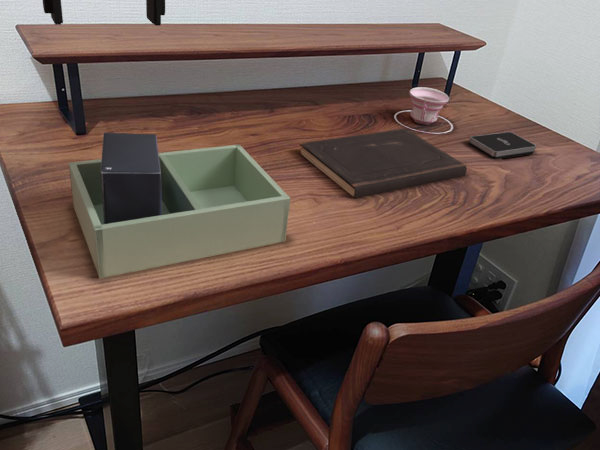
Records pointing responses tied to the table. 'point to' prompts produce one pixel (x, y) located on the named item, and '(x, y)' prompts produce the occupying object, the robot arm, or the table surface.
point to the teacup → (426, 106)
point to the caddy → (184, 211)
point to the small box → (130, 177)
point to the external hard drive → (502, 145)
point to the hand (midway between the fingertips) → (107, 21)
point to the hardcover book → (381, 162)
